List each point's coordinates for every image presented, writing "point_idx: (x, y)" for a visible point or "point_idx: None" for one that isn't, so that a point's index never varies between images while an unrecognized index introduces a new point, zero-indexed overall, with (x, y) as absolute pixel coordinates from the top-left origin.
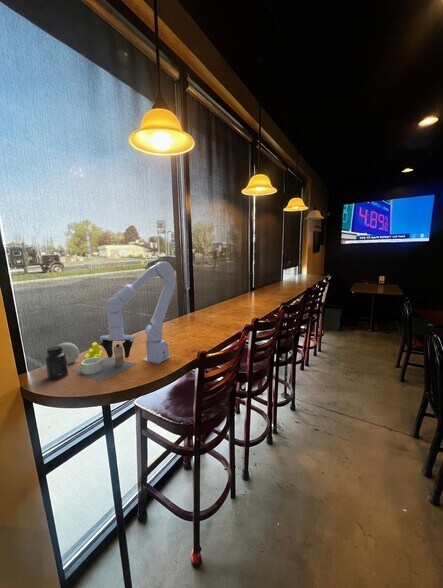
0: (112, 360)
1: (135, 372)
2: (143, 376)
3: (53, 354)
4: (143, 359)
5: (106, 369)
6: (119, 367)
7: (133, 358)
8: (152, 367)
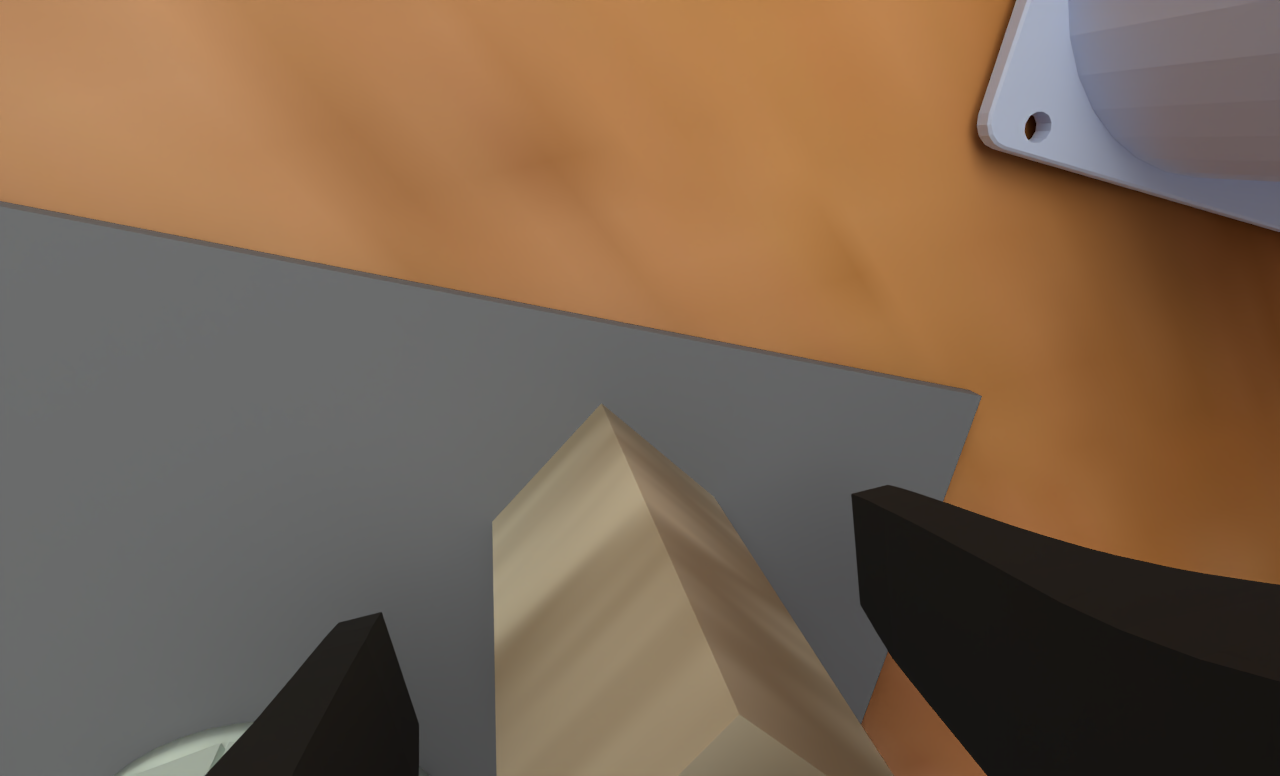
0: (234, 387)
1: None
2: None
3: None
4: (1014, 148)
5: None
6: None
7: (666, 67)
8: (1272, 391)
